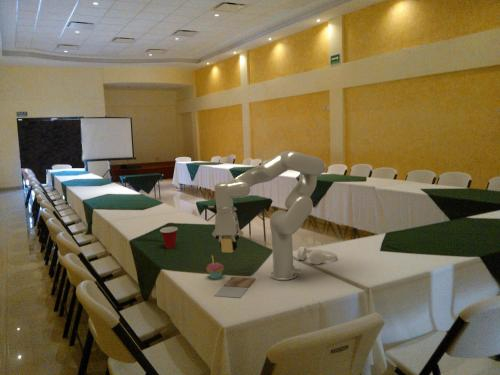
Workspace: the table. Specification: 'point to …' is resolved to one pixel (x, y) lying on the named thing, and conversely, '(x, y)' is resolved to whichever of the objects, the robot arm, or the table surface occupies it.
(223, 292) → the grey mat
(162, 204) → the table surface
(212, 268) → the cupcake
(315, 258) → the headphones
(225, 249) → the mustard block
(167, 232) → the plastic cup
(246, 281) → the walnut mat
